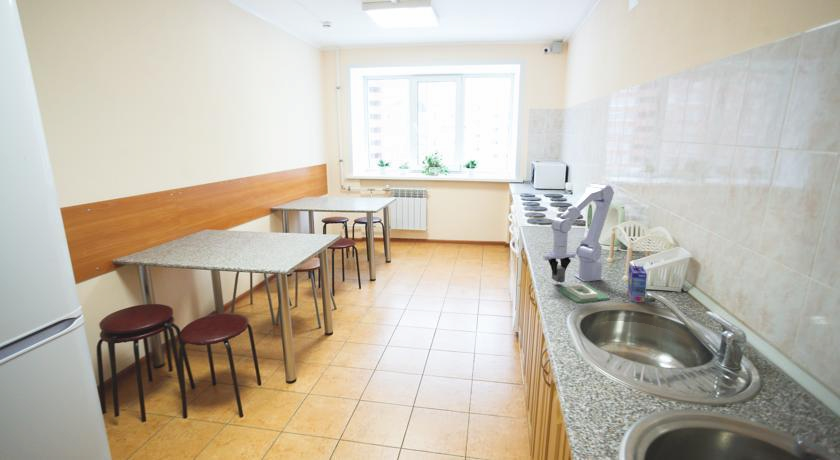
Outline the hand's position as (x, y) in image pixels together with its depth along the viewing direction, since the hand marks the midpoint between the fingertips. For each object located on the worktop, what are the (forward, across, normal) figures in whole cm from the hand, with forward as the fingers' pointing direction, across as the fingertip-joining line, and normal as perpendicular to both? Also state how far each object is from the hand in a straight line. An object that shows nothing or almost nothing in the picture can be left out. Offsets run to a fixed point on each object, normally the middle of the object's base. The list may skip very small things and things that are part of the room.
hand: (558, 274), depth 181 cm
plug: (+3, 0, 0) cm, 3 cm away
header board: (+5, -4, +13) cm, 14 cm away
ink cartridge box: (+5, -23, +21) cm, 32 cm away
